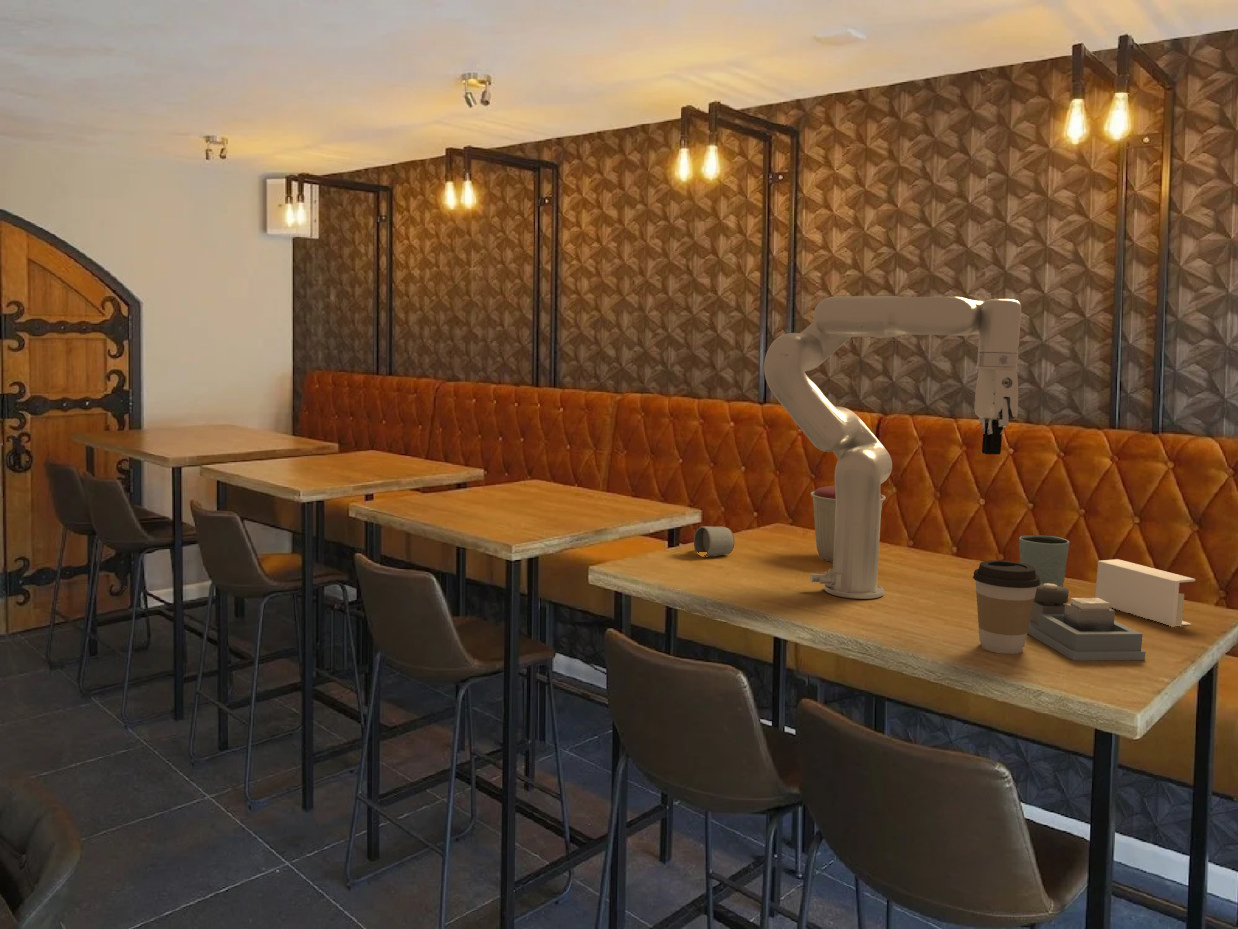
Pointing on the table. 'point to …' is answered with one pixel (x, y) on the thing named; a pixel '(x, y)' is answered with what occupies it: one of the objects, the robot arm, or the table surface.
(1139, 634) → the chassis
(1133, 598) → the beige beam
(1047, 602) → the round knob on base
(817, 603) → the table surface
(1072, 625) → the beige block
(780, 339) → the robot arm
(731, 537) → the ceramic mug
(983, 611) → the coffee cup
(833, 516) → the canister
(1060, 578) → the green tumbler
